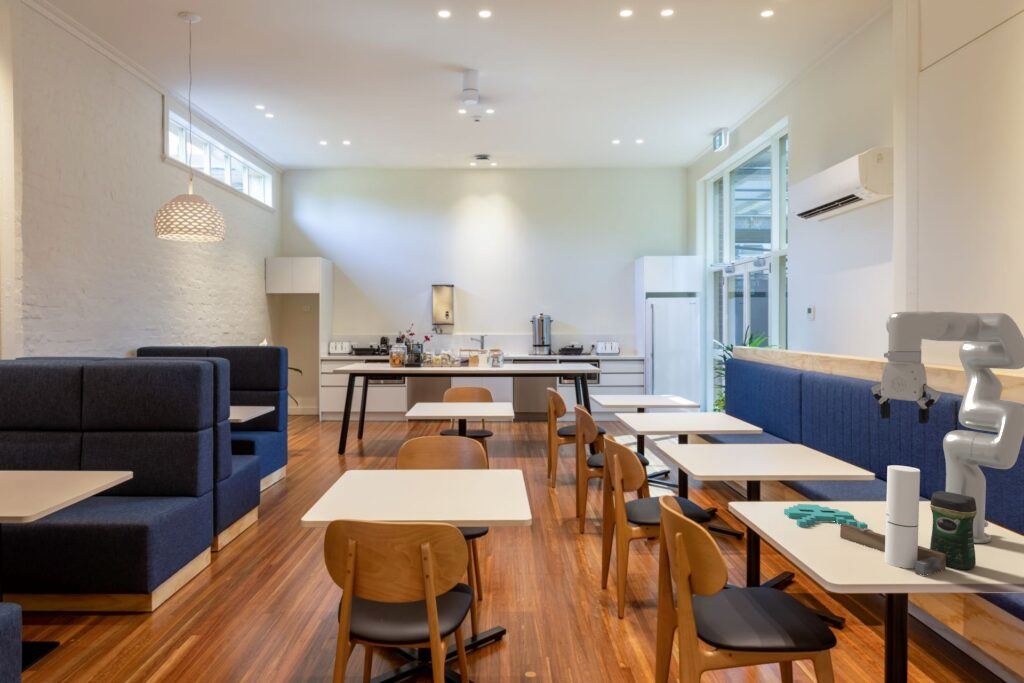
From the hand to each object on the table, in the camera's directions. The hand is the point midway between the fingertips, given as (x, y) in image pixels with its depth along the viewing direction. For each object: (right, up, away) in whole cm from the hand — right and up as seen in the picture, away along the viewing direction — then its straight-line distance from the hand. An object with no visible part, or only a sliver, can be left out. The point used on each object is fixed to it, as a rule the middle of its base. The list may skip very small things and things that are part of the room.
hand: (903, 420), depth 164 cm
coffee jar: (+9, -37, -6) cm, 38 cm away
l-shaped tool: (-7, -36, 0) cm, 37 cm away
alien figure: (-7, -37, +31) cm, 48 cm away
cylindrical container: (-5, -37, -6) cm, 38 cm away
